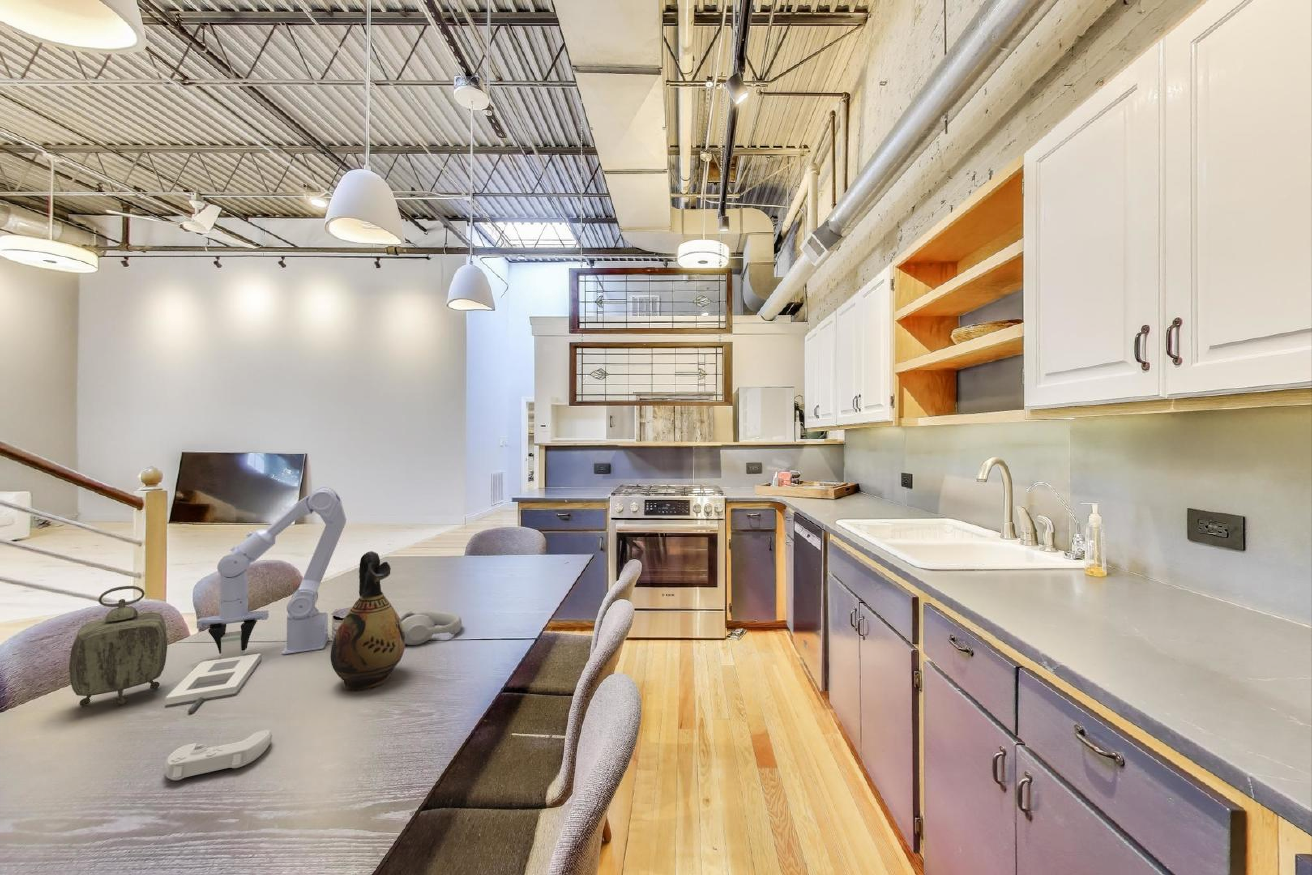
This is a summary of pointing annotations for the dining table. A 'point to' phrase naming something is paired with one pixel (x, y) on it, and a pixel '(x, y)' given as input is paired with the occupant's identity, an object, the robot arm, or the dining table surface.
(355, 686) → the ceramic jug
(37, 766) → the dining table surface
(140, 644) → the tabletop clock
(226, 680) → the power strip
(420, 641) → the headphones
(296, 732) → the dining table surface
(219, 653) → the robot arm
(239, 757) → the game controller
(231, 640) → the block
